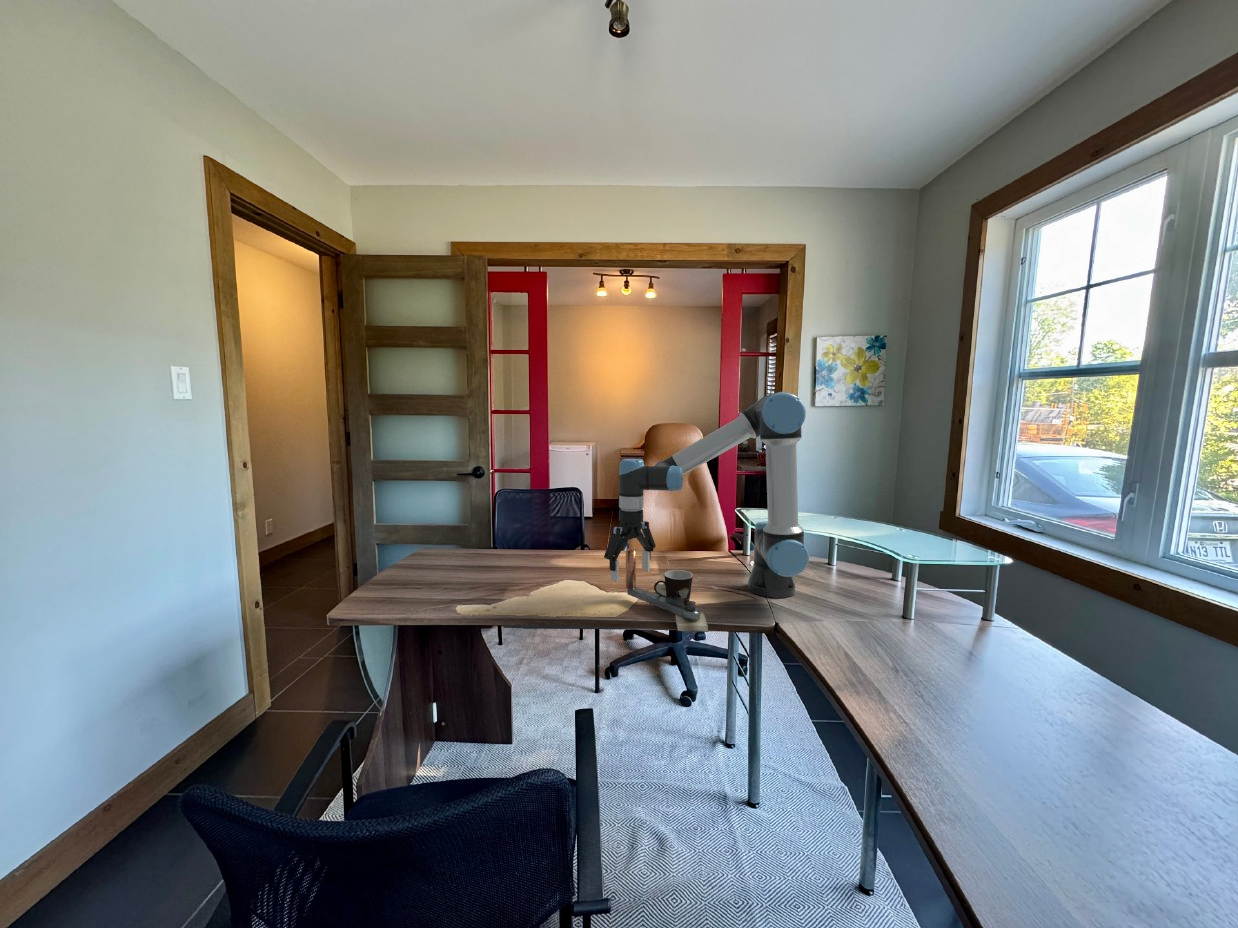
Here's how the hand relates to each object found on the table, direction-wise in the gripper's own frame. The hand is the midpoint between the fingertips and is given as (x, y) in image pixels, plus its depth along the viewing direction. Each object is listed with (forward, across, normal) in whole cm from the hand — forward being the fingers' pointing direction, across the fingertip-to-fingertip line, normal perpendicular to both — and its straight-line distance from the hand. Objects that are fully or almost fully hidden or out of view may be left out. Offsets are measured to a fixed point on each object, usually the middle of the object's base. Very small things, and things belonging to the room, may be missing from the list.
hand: (630, 575), depth 146 cm
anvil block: (+8, -13, +6) cm, 16 cm away
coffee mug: (+8, -6, +12) cm, 16 cm away
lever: (+6, -1, +12) cm, 14 cm away
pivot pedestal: (+8, 0, +24) cm, 25 cm away
